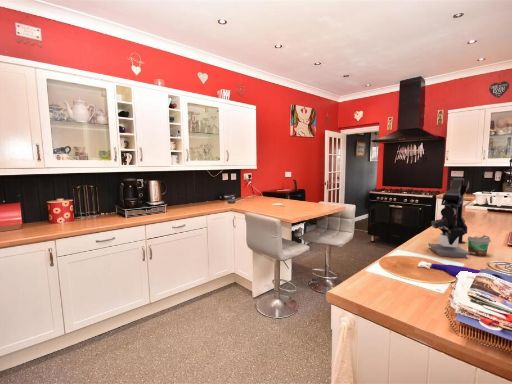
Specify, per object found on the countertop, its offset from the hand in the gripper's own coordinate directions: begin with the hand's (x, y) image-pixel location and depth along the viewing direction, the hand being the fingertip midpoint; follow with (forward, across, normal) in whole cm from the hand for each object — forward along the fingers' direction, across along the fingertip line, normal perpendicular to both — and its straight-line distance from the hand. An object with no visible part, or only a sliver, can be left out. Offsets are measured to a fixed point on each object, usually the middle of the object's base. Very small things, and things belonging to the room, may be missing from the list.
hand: (448, 243), depth 141 cm
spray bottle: (+6, +29, -11) cm, 31 cm away
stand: (+6, 0, 0) cm, 6 cm away
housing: (+1, 0, 0) cm, 1 cm away
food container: (+6, -1, +16) cm, 17 cm away
